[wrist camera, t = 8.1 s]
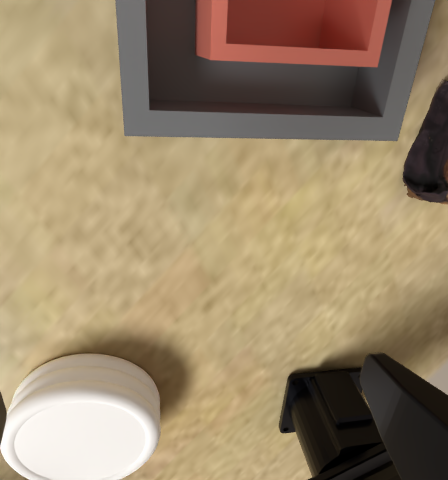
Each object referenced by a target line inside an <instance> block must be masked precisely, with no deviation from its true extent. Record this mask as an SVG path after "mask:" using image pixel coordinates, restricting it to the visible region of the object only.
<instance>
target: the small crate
mask: <svg viewBox="0 0 448 480" xmlns="http://www.w3.org/2000/svg"><path fill="white" fill-rule="evenodd" d="M391 2H392V0H195V55H197V56H200V57H203V58H206V59H209V60H220V61H243V62H266V63H289V64H312V65H335V66H358V67H378V63H379V58H380V54H381V49H382V44H383V40H384V35H385V30H386V26H387V21H388V16H389V12H390V7H391Z"/></svg>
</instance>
